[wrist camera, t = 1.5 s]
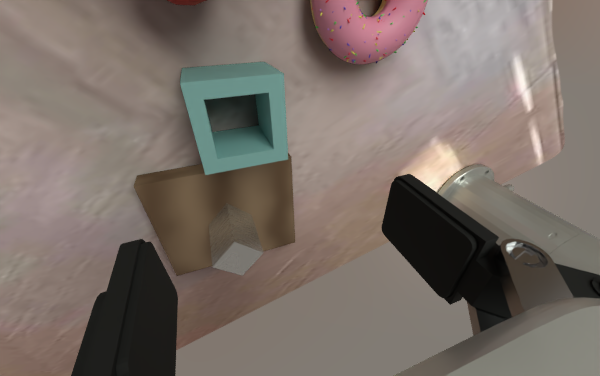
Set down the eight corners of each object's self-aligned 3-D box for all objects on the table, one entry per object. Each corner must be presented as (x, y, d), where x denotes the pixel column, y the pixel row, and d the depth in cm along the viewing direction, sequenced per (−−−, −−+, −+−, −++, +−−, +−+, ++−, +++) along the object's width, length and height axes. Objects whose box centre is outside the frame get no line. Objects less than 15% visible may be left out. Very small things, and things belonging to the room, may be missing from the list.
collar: (264, 61, 23) (283, 73, 18) (271, 134, 27) (288, 159, 22) (182, 68, 21) (179, 83, 16) (202, 145, 25) (205, 175, 20)
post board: (285, 149, 28) (312, 186, 22) (290, 232, 36) (311, 277, 30) (137, 175, 24) (119, 230, 18) (177, 263, 32) (174, 323, 25)
